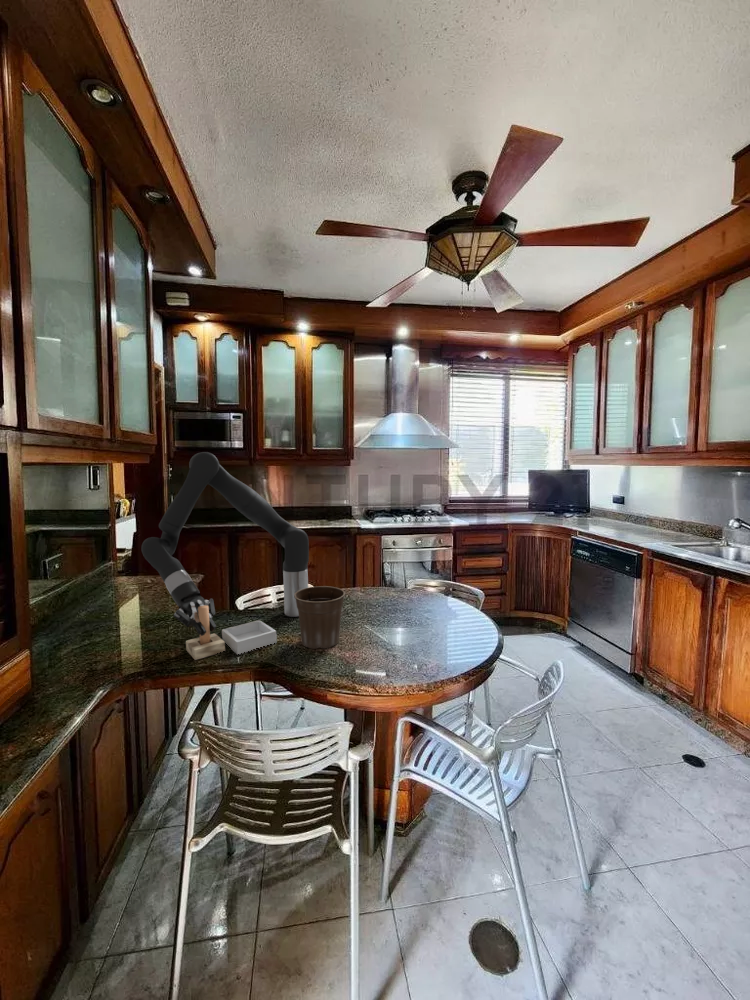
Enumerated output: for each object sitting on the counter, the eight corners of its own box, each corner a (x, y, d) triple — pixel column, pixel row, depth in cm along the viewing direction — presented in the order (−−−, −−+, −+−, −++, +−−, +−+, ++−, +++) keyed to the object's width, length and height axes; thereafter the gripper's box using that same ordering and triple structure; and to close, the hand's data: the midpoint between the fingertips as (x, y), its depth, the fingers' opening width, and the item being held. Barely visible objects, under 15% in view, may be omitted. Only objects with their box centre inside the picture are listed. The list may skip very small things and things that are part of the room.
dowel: (209, 647, 137) (206, 604, 135) (212, 650, 134) (209, 607, 133) (199, 650, 135) (196, 606, 134) (202, 653, 133) (199, 609, 131)
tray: (259, 631, 150) (259, 619, 149) (276, 643, 139) (276, 631, 139) (222, 641, 141) (221, 629, 141) (237, 654, 131) (237, 642, 131)
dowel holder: (215, 642, 141) (214, 633, 141) (225, 651, 134) (224, 641, 134) (186, 650, 135) (185, 640, 135) (195, 660, 128) (194, 650, 128)
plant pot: (355, 637, 143) (354, 590, 141) (326, 657, 129) (324, 604, 128) (316, 628, 151) (315, 583, 150) (285, 645, 137) (283, 596, 136)
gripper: (166, 586, 131) (194, 633, 125) (205, 575, 143) (232, 617, 137) (156, 601, 134) (183, 647, 129) (196, 589, 146) (222, 630, 141)
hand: (209, 631), depth 133 cm, fingers closed on dowel, 3 cm apart
